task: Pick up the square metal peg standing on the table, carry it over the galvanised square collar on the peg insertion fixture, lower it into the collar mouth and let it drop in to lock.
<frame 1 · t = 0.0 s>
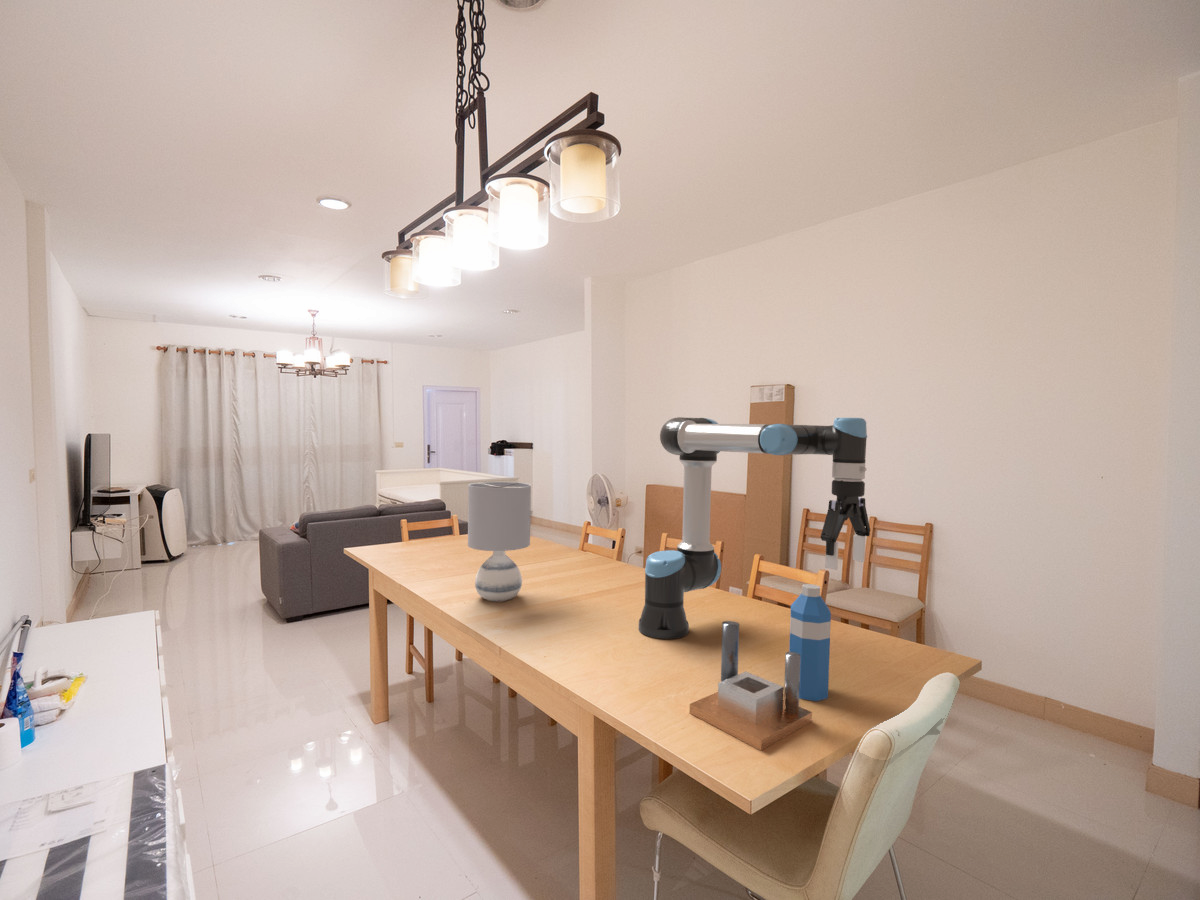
hand: (845, 564, 142), 28 cm above the table, fingers open, 13 cm apart
lamp: (498, 598, 203), on the table
peg insertion fixture: (749, 717, 121), on the table
water bottle: (807, 692, 134), on the table
square metal peg: (729, 680, 139), on the table
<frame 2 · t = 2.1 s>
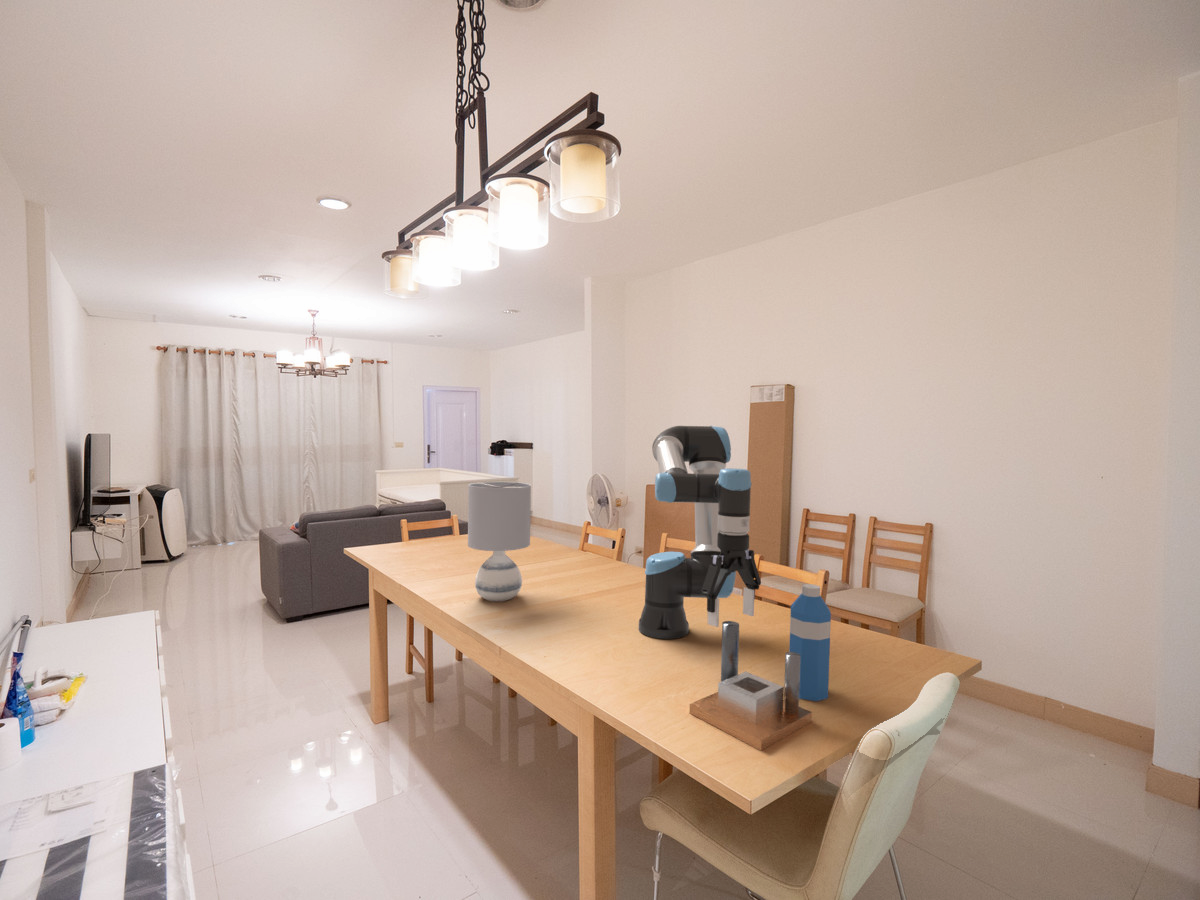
hand: (731, 620, 138), 15 cm above the table, fingers open, 13 cm apart
nothing on the table moved.
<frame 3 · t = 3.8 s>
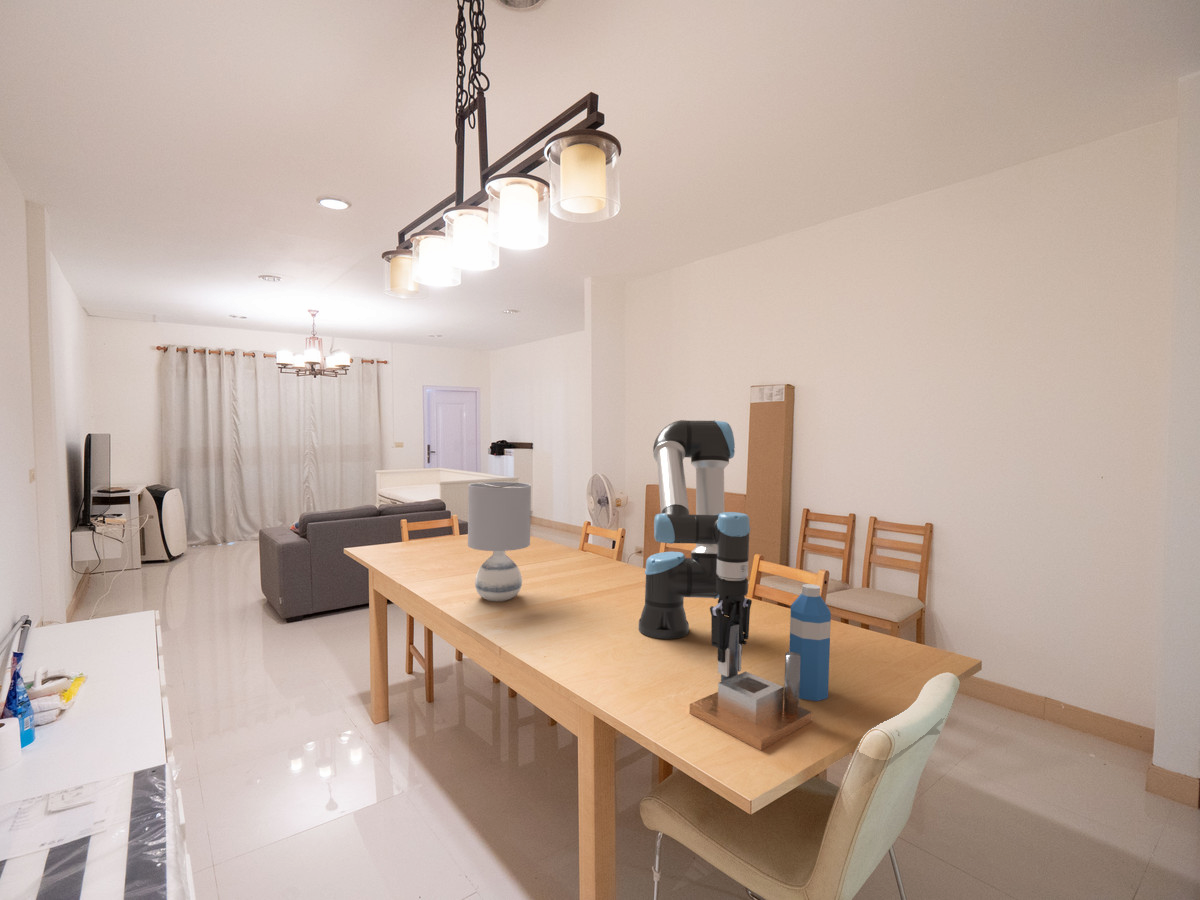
hand: (729, 671, 139), 2 cm above the table, fingers closed on square metal peg, 4 cm apart
square metal peg: (729, 680, 139), on the table, touching gripper
everything else where it was.
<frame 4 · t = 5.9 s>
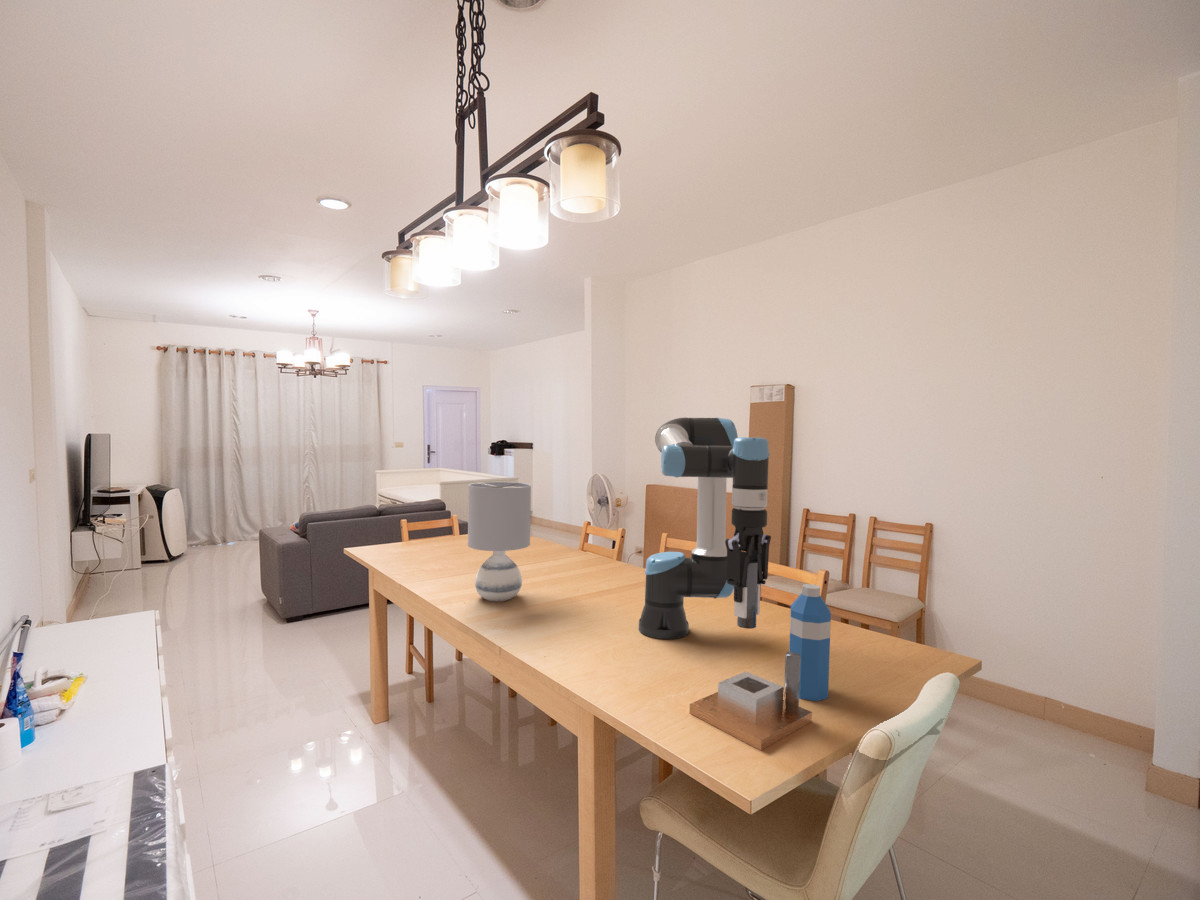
hand: (746, 614, 125), 21 cm above the table, fingers closed on square metal peg, 4 cm apart
square metal peg: (746, 625, 125), point 18 cm above the table, touching gripper
everything else where it was.
when the fingers open (8 cm above the table, at t = 8.0 s): square metal peg drops 3 cm, resting on peg insertion fixture.
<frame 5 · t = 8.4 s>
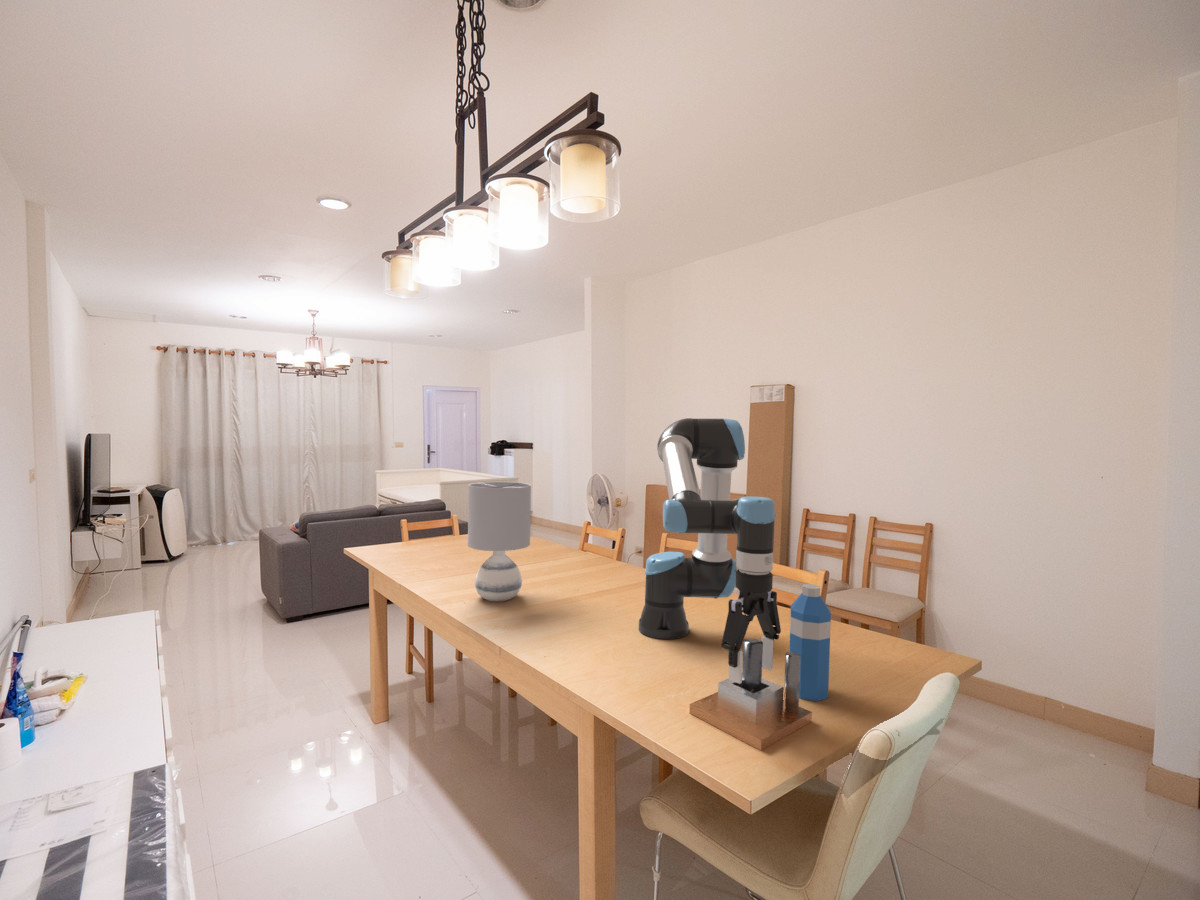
hand: (751, 674, 121), 9 cm above the table, fingers open, 10 cm apart
square metal peg: (750, 707, 121), point 2 cm above the table, touching peg insertion fixture
everything else where it was.
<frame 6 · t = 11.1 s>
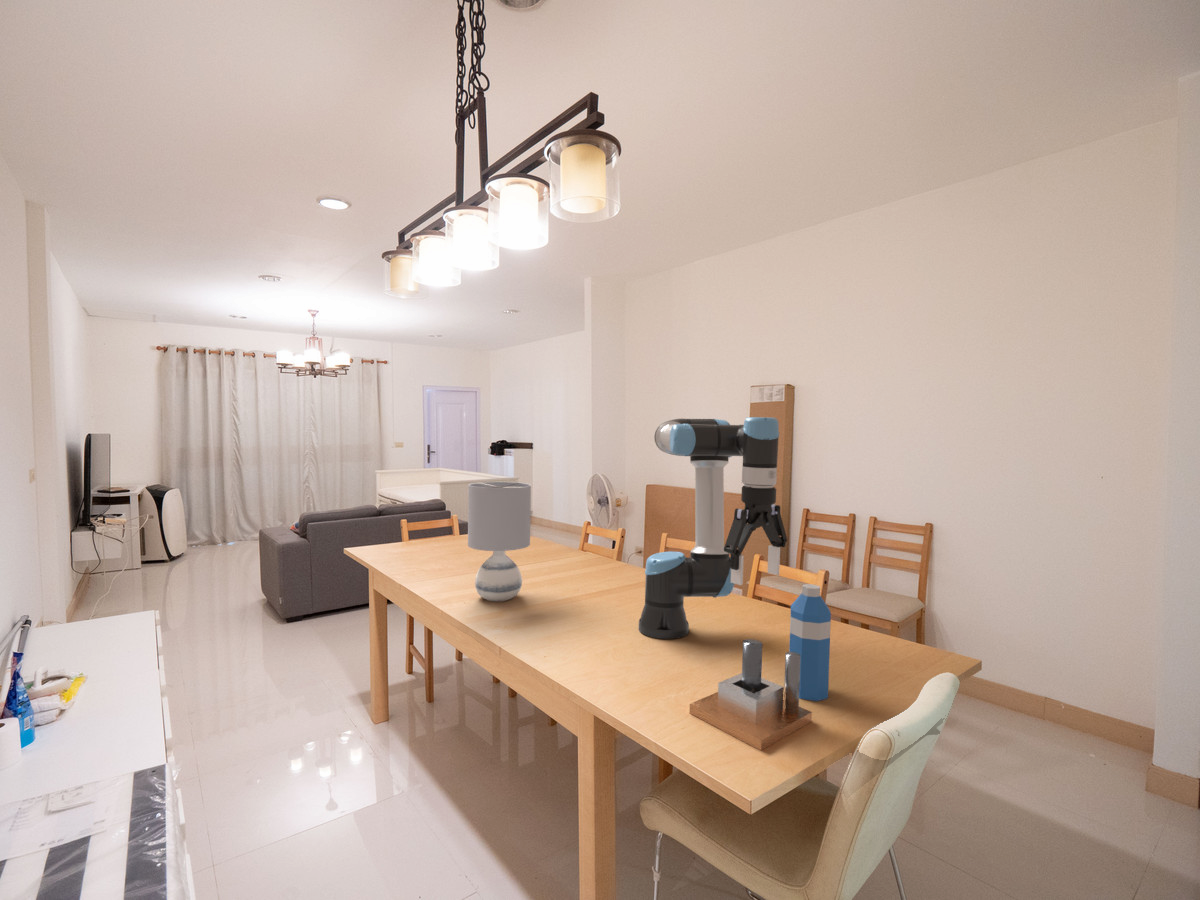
hand: (755, 578, 130), 27 cm above the table, fingers open, 13 cm apart
nothing on the table moved.
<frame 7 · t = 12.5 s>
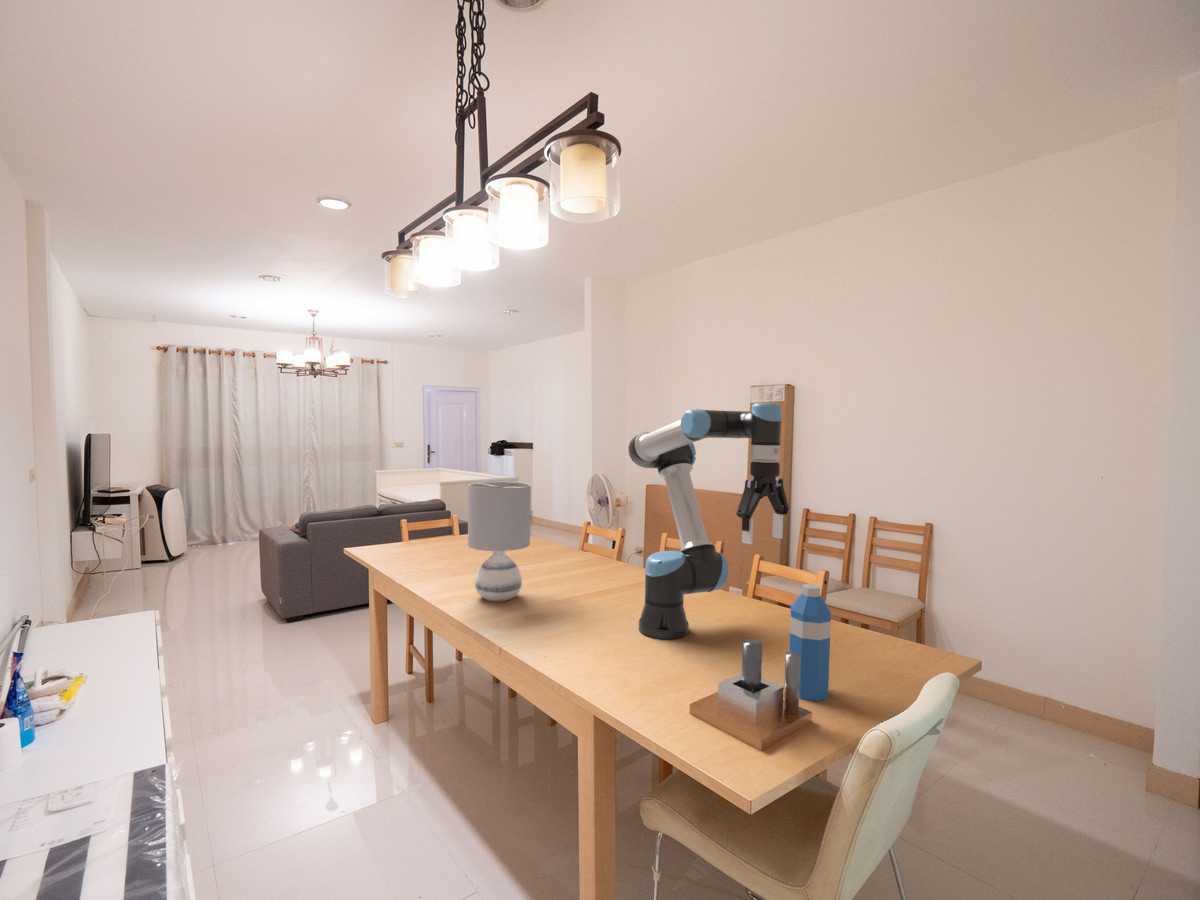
hand: (762, 540, 152), 32 cm above the table, fingers open, 13 cm apart
nothing on the table moved.
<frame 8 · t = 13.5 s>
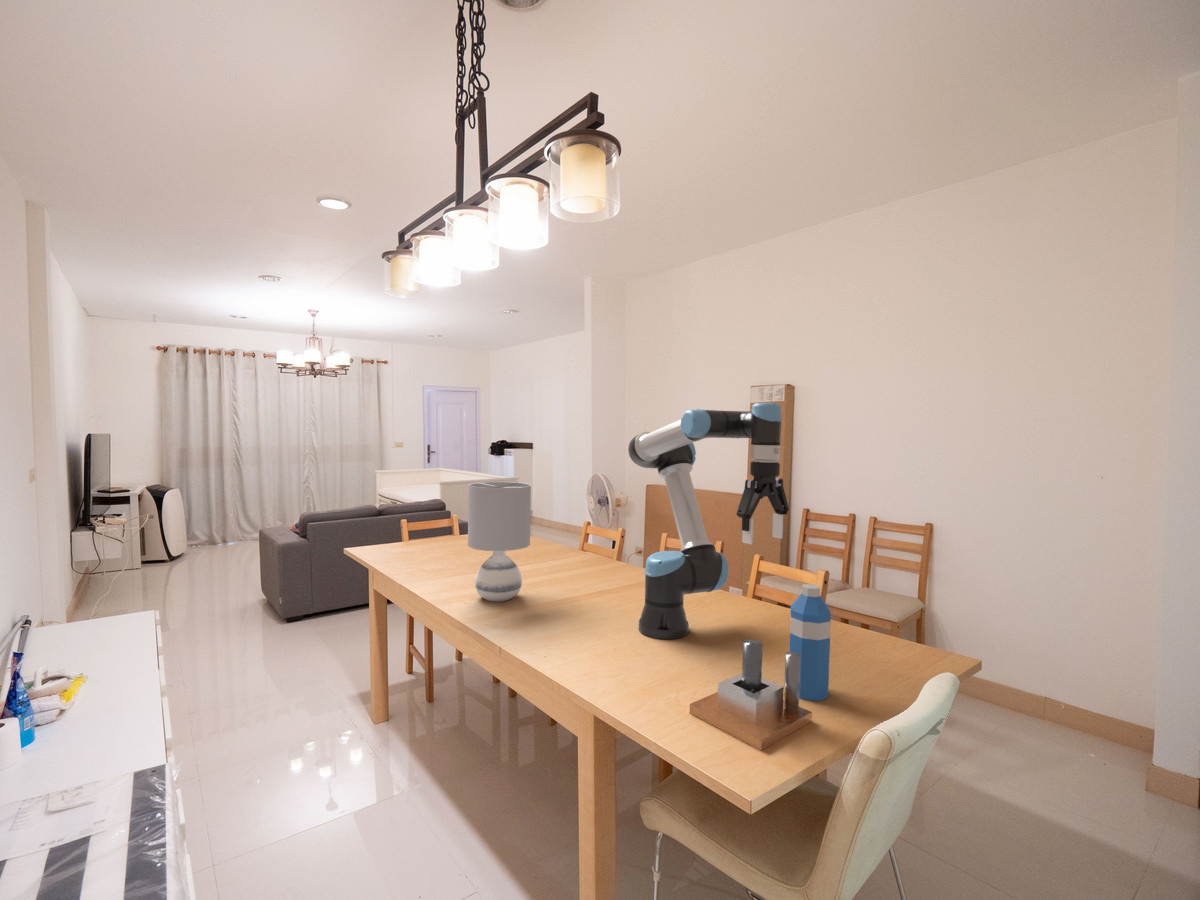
hand: (762, 540, 152), 32 cm above the table, fingers open, 13 cm apart
nothing on the table moved.
at the end: square metal peg 0.2 cm off-centre on the peg insertion fixture, point 2.0 cm above the peg insertion fixture's base; square metal peg tilted 0°; the gripper is holding nothing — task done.
